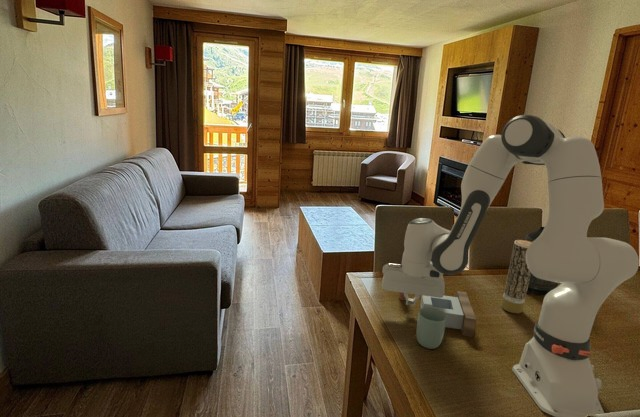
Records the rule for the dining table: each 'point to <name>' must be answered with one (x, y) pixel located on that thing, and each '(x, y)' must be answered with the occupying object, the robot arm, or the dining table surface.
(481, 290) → the dining table surface
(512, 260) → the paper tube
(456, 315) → the holed block
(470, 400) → the dining table surface
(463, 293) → the walnut wall
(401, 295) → the sausage
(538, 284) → the beer stein
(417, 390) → the dining table surface
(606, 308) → the dining table surface
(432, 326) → the cup
